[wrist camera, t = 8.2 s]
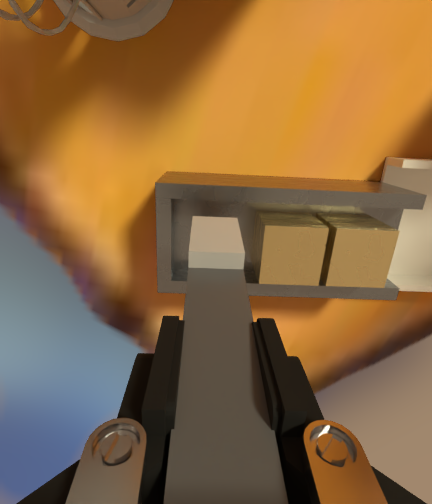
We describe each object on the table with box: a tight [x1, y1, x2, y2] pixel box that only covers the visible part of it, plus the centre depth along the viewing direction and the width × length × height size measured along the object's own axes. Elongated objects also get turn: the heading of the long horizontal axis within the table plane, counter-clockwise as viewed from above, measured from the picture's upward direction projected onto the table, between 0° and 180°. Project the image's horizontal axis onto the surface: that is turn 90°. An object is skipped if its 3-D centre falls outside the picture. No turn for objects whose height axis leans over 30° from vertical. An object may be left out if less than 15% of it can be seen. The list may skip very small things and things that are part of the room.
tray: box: [381, 157, 432, 292], centre depth 27 cm, size 9×11×2 cm
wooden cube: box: [316, 213, 400, 288], centre depth 22 cm, size 4×4×4 cm
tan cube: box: [251, 210, 329, 286], centre depth 22 cm, size 4×4×4 cm
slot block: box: [155, 172, 427, 300], centre depth 25 cm, size 18×8×6 cm, turn 87°
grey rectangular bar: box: [164, 216, 288, 504], centre depth 11 cm, size 2×4×16 cm, turn 177°
